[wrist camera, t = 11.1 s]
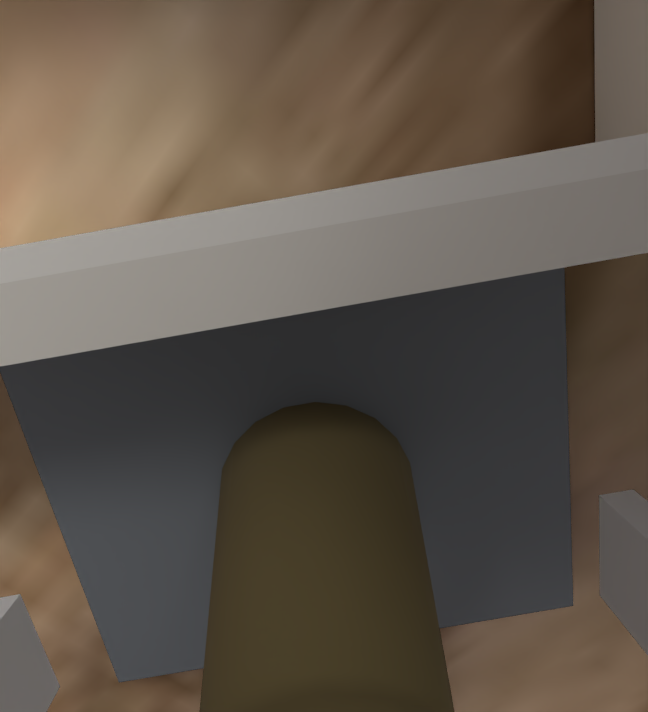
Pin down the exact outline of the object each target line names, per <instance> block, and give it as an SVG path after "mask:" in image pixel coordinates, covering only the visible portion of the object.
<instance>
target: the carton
mask: <svg viewBox="0 0 648 712" xmlns="http://www.w3.org/2000/svg"><path fill="white" fill-rule="evenodd" d="M594 40H595V143H589V144H583V145H578V146H572V147H566V148H561V149H555V150H550V151H544V152H538V153H533V154H527V155H522V156H516V157H510V158H505V159H499V160H493V161H488V162H482V163H477V164H471V165H465V166H460V167H454V168H449V169H443V170H437V171H432V172H426V173H420V174H415V175H409V176H404V177H398V178H392V179H387V180H381V181H376V182H370V183H364V184H359V185H353V186H347V187H342V188H336V189H331V190H325V191H319V192H314V193H308V194H303V195H297V196H291V197H286V198H280V199H274V200H269V201H263V202H258V203H252V204H246V205H241V206H235V207H230V208H224V209H218V210H213V211H207V212H201V213H196V214H190V215H185V216H179V217H173V218H168V219H162V220H157V221H151V222H145V223H140V224H134V225H128V226H123V227H117V228H112V229H106V230H100V231H95V232H89V233H84V234H78V235H72V236H67V237H61V238H55V239H50V240H44V241H39V242H33V243H27V244H22V245H16V246H11V247H5V248H0V366H6V365H12V364H17V363H23V362H29V361H35V360H40V359H46V358H52V357H57V356H63V355H69V354H74V353H80V352H86V351H91V350H97V349H103V348H109V347H114V346H120V345H126V344H131V343H137V342H143V341H148V340H154V339H160V338H165V337H171V336H177V335H183V334H188V333H194V332H200V331H205V330H211V329H217V328H222V327H228V326H234V325H240V324H245V323H251V322H257V321H262V320H268V319H274V318H279V317H285V316H291V315H296V314H302V313H308V312H314V311H319V310H325V309H331V308H336V307H342V306H348V305H353V304H359V303H365V302H370V301H376V300H382V299H388V298H393V297H399V296H405V295H410V294H416V293H422V292H427V291H433V290H439V289H444V288H450V287H456V286H462V285H467V284H473V283H479V282H484V281H490V280H496V279H501V278H507V277H513V276H518V275H524V274H530V273H536V272H541V271H547V270H553V269H558V268H564V267H570V266H575V265H581V264H587V263H592V262H598V261H604V260H610V259H615V258H621V257H627V256H632V255H638V254H644V253H648V0H594Z"/></svg>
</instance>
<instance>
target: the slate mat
mask: <svg viewBox="0 0 648 712" xmlns="http://www.w3.org/2000/svg"><path fill="white" fill-rule="evenodd" d="M0 373H1V376H2V378H3V381H4V384H5V386H6V389H7V391H8V394H9V397H10V399H11V402H12V404H13V407H14V410H15V412H16V415H17V418H18V420H19V423H20V425H21V428H22V431H23V433H24V436H25V438H26V441H27V444H28V446H29V449H30V451H31V454H32V457H33V459H34V462H35V465H36V467H37V470H38V472H39V475H40V478H41V480H42V483H43V485H44V488H45V491H46V493H47V496H48V498H49V501H50V504H51V506H52V509H53V511H54V514H55V517H56V519H57V522H58V525H59V527H60V530H61V532H62V535H63V538H64V540H65V543H66V545H67V548H68V551H69V553H70V556H71V558H72V561H73V564H74V566H75V569H76V572H77V574H78V577H79V579H80V582H81V585H82V587H83V590H84V592H85V595H86V598H87V600H88V603H89V605H90V608H91V611H92V613H93V616H94V618H95V621H96V624H97V626H98V629H99V632H100V634H101V637H102V639H103V642H104V645H105V647H106V650H107V652H108V655H109V658H110V660H111V663H112V665H113V668H114V671H115V673H116V676H117V679H118V681H119V682H124V681H130V680H136V679H142V678H148V677H154V676H160V675H166V674H172V673H178V672H184V671H190V670H196V669H201V668H204V659H205V648H206V637H207V626H208V616H209V605H210V594H211V583H212V572H213V561H214V551H215V540H216V529H217V518H218V507H219V496H220V486H221V475H222V468H223V466H224V464H225V462H226V460H227V458H228V455H229V453H230V451H231V449H232V447H233V445H234V443H235V442H236V441H237V440H238V439H239V438H240V437H241V436H242V435H243V434H244V433H245V432H246V431H247V430H248V429H249V428H250V427H251V426H252V425H253V424H254V423H255V422H256V421H258V420H260V419H262V418H264V417H266V416H268V415H270V414H272V413H274V412H276V411H278V410H280V409H281V408H283V407H289V406H295V405H300V404H306V403H311V402H321V403H329V404H338V405H346V406H349V407H351V408H353V409H356V410H358V411H360V412H362V413H365V414H367V415H369V416H371V417H374V418H375V419H377V420H378V421H379V422H380V423H381V424H382V425H383V426H384V427H385V428H386V429H388V430H389V431H390V432H391V433H392V434H393V435H394V436H395V437H396V438H397V439H398V441H399V443H400V445H401V447H402V449H403V450H404V452H405V454H406V456H407V458H408V460H409V462H410V466H411V471H412V477H413V482H414V488H415V494H416V499H417V505H418V511H419V516H420V522H421V527H422V533H423V539H424V544H425V550H426V555H427V561H428V567H429V572H430V578H431V584H432V589H433V595H434V600H435V606H436V612H437V617H438V623H439V628H444V627H450V626H456V625H462V624H468V623H474V622H480V621H486V620H492V619H498V618H504V617H510V616H516V615H521V614H527V613H533V612H539V611H545V610H551V609H557V608H563V607H569V606H573V579H572V541H571V503H570V464H569V426H568V388H567V350H566V311H565V273H564V268H558V269H553V270H547V271H541V272H536V273H530V274H524V275H518V276H513V277H507V278H501V279H496V280H490V281H484V282H479V283H473V284H467V285H462V286H456V287H450V288H444V289H439V290H433V291H427V292H422V293H416V294H410V295H405V296H399V297H393V298H388V299H382V300H376V301H370V302H365V303H359V304H353V305H348V306H342V307H336V308H331V309H325V310H319V311H314V312H308V313H302V314H296V315H291V316H285V317H279V318H274V319H268V320H262V321H257V322H251V323H245V324H240V325H234V326H228V327H222V328H217V329H211V330H205V331H200V332H194V333H188V334H183V335H177V336H171V337H165V338H160V339H154V340H148V341H143V342H137V343H131V344H126V345H120V346H114V347H109V348H103V349H97V350H91V351H86V352H80V353H74V354H69V355H63V356H57V357H52V358H46V359H40V360H35V361H29V362H23V363H17V364H12V365H6V366H0Z"/></svg>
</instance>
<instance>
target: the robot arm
mask: <svg viewBox="0 0 648 712" xmlns="http://www.w3.org/2000/svg"><path fill="white" fill-rule="evenodd" d="M599 564H600V596H601V598H602V599H603V600H604V601H605V603H606V604H607V605H608V606H609V608H610V609H611V610H612V611H613V613H614V614H615V615H616V616H617V618H618V619H619V620H620V621H621V623H622V624H623V625H624V626H625V628H626V629H627V630H628V631H629V633H630V634H631V635H632V636H633V638H634V639H635V640H636V641H637V643H638V644H639V645H640V646H641V648H642V649H643V650H644V651H645V653H646V654H647V655H648V501H647V500H646V499H645V498H643V497H642V496H641V495H640V494H638V493H637V492H636V491H635V490H633V489H632V490H627V491H621V492H615V493H609V494H603V495H599ZM59 687H60V685H59V683H58V681H57V678H56V676H55V674H54V671H53V669H52V667H51V664H50V662H49V660H48V657H47V655H46V653H45V650H44V648H43V646H42V644H41V641H40V639H39V637H38V634H37V632H36V630H35V627H34V625H33V623H32V620H31V618H30V616H29V613H28V611H27V609H26V606H25V604H24V602H23V599H22V597H21V595H20V594H18V595H12V596H6V597H0V712H47V710H48V708H49V706H50V704H51V702H52V701H53V699H54V697H55V695H56V693H57V691H58V689H59Z"/></svg>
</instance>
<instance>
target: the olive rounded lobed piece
mask: <svg viewBox="0 0 648 712" xmlns="http://www.w3.org/2000/svg"><path fill="white" fill-rule="evenodd" d="M200 712H454V707H453V702H452V696H451V690H450V685H449V679H448V674H447V668H446V662H445V657H444V651H443V645H442V640H441V634H440V629H439V623H438V617H437V612H436V606H435V600H434V595H433V589H432V584H431V578H430V572H429V567H428V561H427V555H426V550H425V544H424V539H423V533H422V527H421V522H420V516H419V511H418V505H417V499H416V494H415V488H414V482H413V477H412V471H411V466H410V462H409V460H408V458H407V456H406V454H405V452H404V450H403V449H402V447H401V445H400V443H399V441H398V439H397V438H396V437H395V436H394V435H393V434H392V433H391V432H390V431H389V430H388V429H386V428H385V427H384V426H383V425H382V424H381V423H380V422H379V421H378V420H377V419H375V418H374V417H371V416H369V415H367V414H365V413H362V412H360V411H358V410H356V409H353V408H351V407H349V406H346V405H338V404H329V403H321V402H311V403H306V404H300V405H295V406H289V407H283V408H281V409H280V410H278V411H276V412H274V413H272V414H270V415H268V416H266V417H264V418H262V419H260V420H258V421H256V422H255V423H254V424H253V425H252V426H251V427H250V428H249V429H248V430H247V431H246V432H245V433H244V434H243V435H242V436H241V437H240V438H239V439H238V440H237V441H236V442H235V443H234V445H233V447H232V449H231V451H230V453H229V455H228V458H227V460H226V462H225V464H224V466H223V468H222V475H221V486H220V496H219V507H218V518H217V529H216V540H215V551H214V561H213V572H212V583H211V594H210V605H209V616H208V626H207V637H206V648H205V659H204V670H203V681H202V692H201V702H200Z"/></svg>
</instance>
